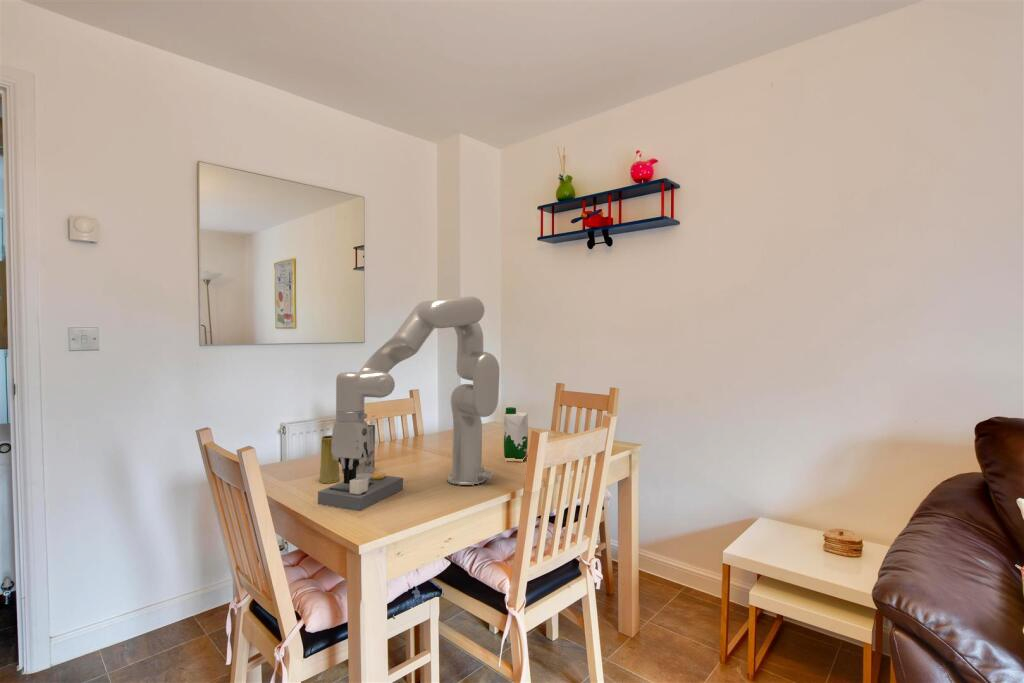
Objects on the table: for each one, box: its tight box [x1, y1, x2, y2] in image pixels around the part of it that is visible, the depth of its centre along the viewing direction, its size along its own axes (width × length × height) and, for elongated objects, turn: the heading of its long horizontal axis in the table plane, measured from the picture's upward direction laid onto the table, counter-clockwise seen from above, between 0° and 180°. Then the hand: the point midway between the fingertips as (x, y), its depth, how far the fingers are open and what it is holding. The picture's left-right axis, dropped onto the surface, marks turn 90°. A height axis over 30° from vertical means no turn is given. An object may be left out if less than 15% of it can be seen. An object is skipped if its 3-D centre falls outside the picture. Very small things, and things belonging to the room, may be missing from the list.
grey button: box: [356, 473, 372, 486], centre depth 145 cm, size 5×5×3 cm
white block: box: [350, 477, 368, 495], centre depth 137 cm, size 3×4×6 cm
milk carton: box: [503, 406, 529, 459], centre depth 192 cm, size 9×9×20 cm
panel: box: [317, 473, 404, 512], centre depth 145 cm, size 14×21×4 cm, turn 160°
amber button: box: [371, 472, 386, 481], centre depth 152 cm, size 5×5×3 cm
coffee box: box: [341, 424, 376, 474], centre depth 170 cm, size 9×6×16 cm
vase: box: [319, 434, 340, 484], centre depth 159 cm, size 6×6×14 cm
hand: (349, 482), depth 138 cm, fingers closed
